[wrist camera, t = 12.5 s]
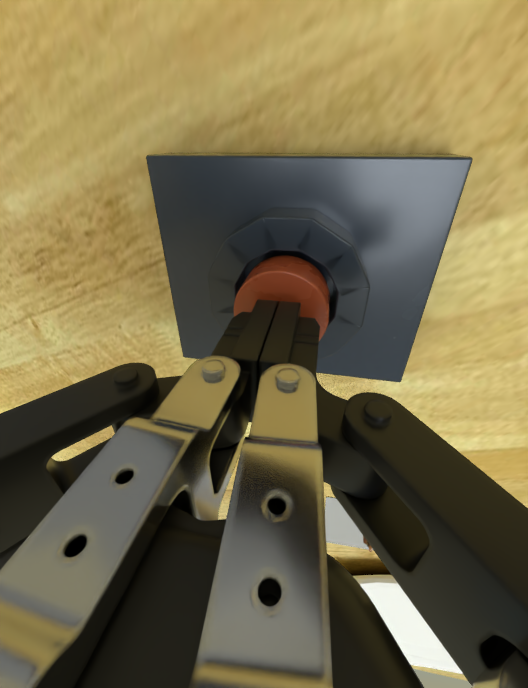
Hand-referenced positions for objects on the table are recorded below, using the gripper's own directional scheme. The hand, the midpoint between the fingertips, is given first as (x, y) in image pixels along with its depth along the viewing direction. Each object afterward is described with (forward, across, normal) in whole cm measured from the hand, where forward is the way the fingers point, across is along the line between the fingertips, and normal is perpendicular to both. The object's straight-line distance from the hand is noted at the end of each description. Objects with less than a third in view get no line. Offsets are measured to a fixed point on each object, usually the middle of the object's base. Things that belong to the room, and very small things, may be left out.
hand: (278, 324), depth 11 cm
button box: (+6, 0, 0) cm, 6 cm away
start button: (+2, 0, 0) cm, 2 cm away
